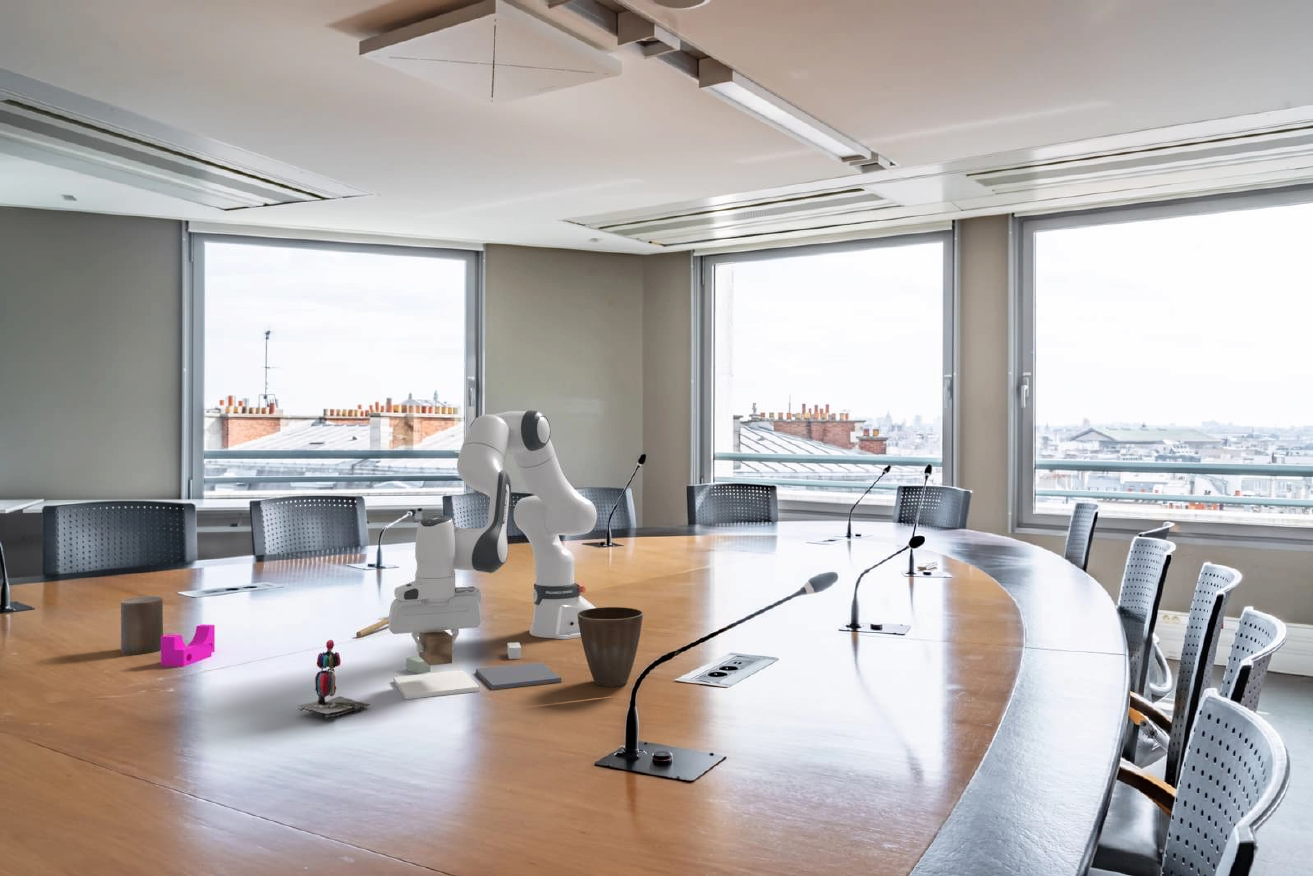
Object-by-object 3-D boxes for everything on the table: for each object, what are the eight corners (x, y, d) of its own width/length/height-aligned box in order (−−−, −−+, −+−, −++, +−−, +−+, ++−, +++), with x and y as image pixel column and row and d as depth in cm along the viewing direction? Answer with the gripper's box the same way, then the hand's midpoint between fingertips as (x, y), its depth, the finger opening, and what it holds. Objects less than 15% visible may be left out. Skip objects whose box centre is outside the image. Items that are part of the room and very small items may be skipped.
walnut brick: (440, 654, 220) (440, 627, 220) (452, 663, 211) (452, 636, 211) (418, 656, 218) (419, 629, 218) (429, 665, 209) (429, 638, 209)
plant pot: (593, 695, 208) (593, 621, 208) (567, 679, 221) (567, 610, 221) (654, 686, 215) (654, 615, 215) (625, 671, 228) (625, 604, 228)
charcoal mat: (540, 666, 233) (540, 662, 233) (561, 682, 219) (561, 677, 219) (475, 673, 227) (475, 668, 227) (492, 689, 212) (492, 685, 212)
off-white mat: (463, 674, 225) (463, 670, 225) (479, 691, 211) (479, 686, 211) (393, 681, 219) (393, 677, 219) (405, 699, 204) (405, 694, 204)
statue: (327, 723, 188) (326, 647, 188) (296, 716, 193) (296, 642, 193) (370, 710, 197) (370, 637, 197) (340, 703, 202) (340, 632, 202)
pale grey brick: (507, 654, 246) (507, 643, 246) (519, 654, 247) (519, 642, 247) (509, 660, 241) (509, 648, 241) (521, 659, 241) (521, 647, 241)
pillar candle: (169, 652, 248) (168, 594, 248) (128, 658, 241) (128, 599, 241) (155, 646, 254) (154, 590, 254) (114, 652, 247) (114, 594, 247)
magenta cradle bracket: (183, 668, 232) (183, 637, 231) (161, 667, 233) (160, 636, 233) (223, 654, 246) (223, 625, 246) (201, 653, 247) (201, 624, 247)
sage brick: (406, 670, 230) (406, 657, 230) (417, 668, 232) (417, 655, 232) (419, 674, 226) (419, 662, 226) (430, 672, 228) (430, 660, 228)
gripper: (477, 583, 222) (477, 643, 222) (387, 589, 213) (387, 651, 214) (484, 587, 216) (484, 649, 216) (391, 593, 208) (391, 657, 208)
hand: (435, 650), depth 215 cm, fingers closed on walnut brick, 5 cm apart
